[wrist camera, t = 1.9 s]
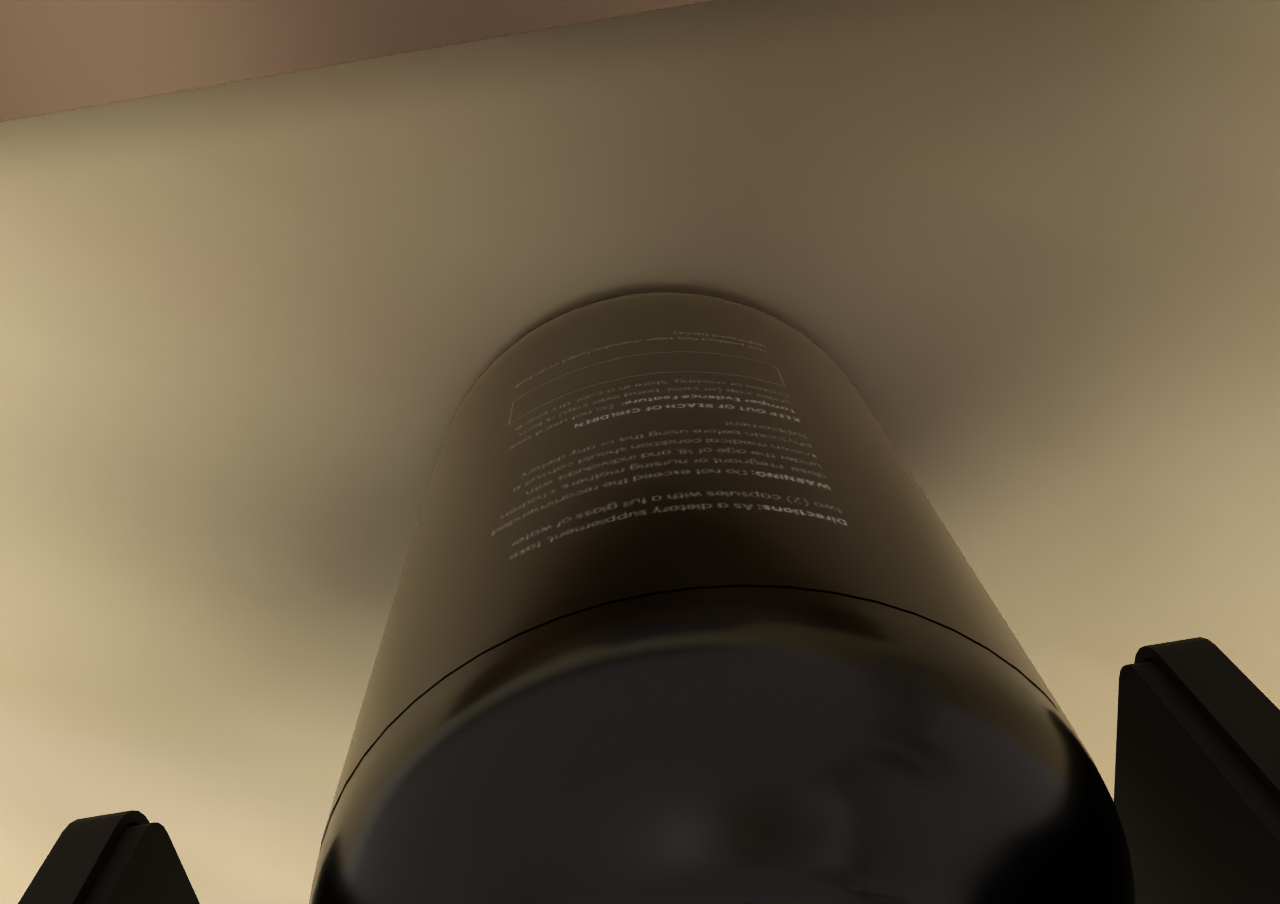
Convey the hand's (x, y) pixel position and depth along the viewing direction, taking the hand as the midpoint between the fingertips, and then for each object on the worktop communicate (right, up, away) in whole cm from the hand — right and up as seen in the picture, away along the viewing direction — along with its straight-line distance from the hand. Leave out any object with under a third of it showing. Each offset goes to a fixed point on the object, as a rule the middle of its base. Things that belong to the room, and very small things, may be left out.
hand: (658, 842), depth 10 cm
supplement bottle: (0, +3, +6) cm, 7 cm away
